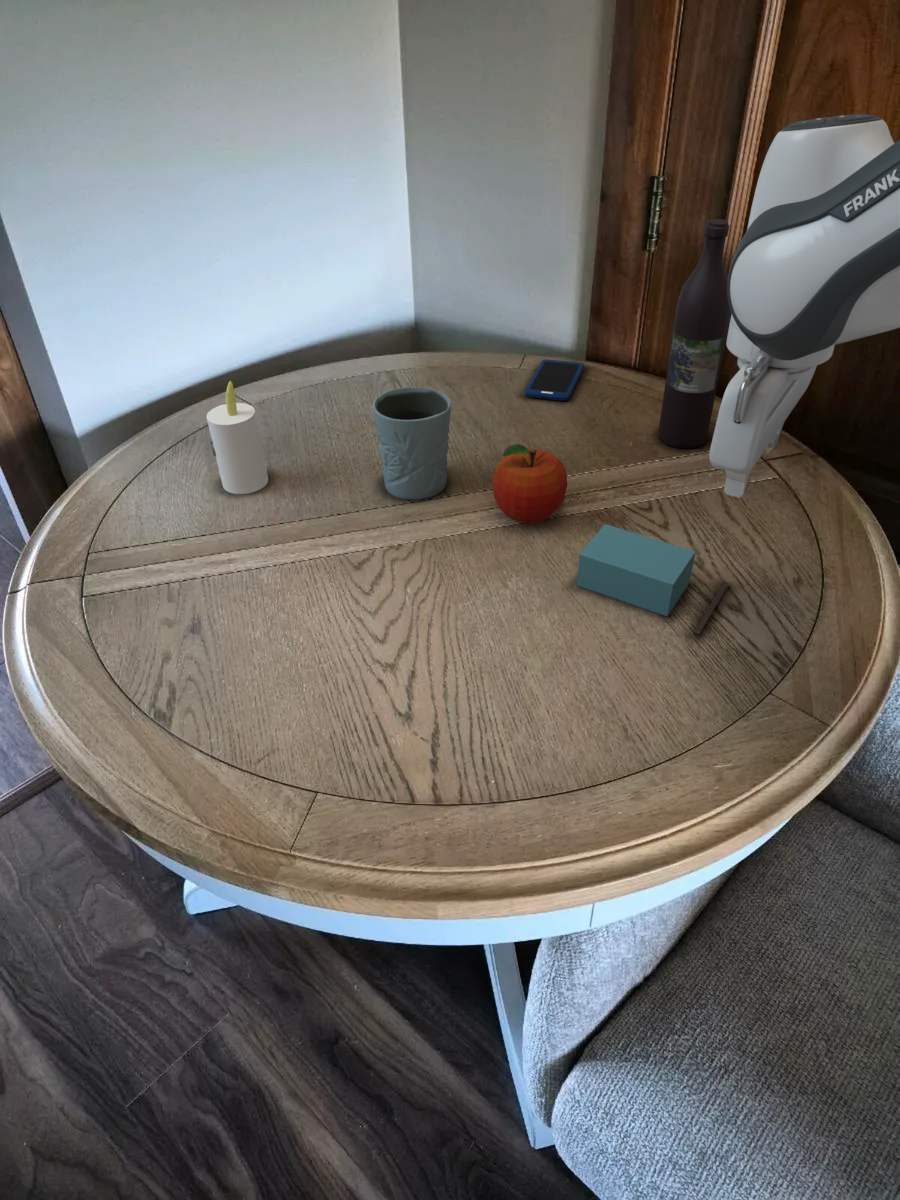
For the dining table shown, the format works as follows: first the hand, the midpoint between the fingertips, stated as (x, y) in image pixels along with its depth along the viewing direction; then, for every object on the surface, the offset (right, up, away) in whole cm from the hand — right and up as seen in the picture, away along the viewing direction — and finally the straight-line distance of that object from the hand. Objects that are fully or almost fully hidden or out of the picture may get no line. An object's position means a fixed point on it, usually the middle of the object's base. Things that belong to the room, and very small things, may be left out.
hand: (750, 470), depth 79 cm
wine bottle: (+5, +11, +42) cm, 44 cm away
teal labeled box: (-8, -7, +13) cm, 17 cm away
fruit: (-19, -1, +28) cm, 34 cm away
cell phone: (-12, +24, +58) cm, 64 cm away
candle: (-58, +4, +36) cm, 68 cm away
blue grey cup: (-34, +4, +35) cm, 48 cm away
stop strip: (0, -14, +12) cm, 18 cm away
